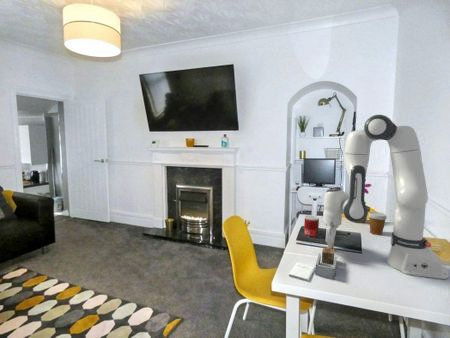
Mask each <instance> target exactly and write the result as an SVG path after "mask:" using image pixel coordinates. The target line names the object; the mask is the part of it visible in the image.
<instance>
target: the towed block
mask: <svg viewBox="0 0 450 338" xmlns="http://www.w3.org/2000/svg"><path fill="white" fill-rule="evenodd" d="M326 244H327V246H326V247H323V248H322V252H321V263H324V264H331V265H333V264H334V258H335V251H336V250H335V248H334V246H335V245H334V244H335V242H334V243H333V244H332V248H328V243H326Z"/></svg>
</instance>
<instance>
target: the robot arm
mask: <svg viewBox="0 0 450 338" xmlns="http://www.w3.org/2000/svg"><path fill="white" fill-rule="evenodd" d="M381 140H382V141H383V140H384V141H386V143H387V144H388V148H389V154H390V161H391V167H392V173H393V174H392V175H393V181H394V193H395V199H396V203H395V210H394V220H393V231H392V233H391V236H390V245H391V246H390V250H389V253H388V256H387V258H386V263H387V264H388V265H389V266H391V267H392V268H394V269H396V270H398V271H401V272H402V273H404V274H405V275H410V276H415V277H416V276H417V277H424V278H430V279H431V278H432V279H440V280H448V279H449V277H448V276H449V271H448V270H447V268H445V267H444V266H443V263H442V260H441V258H440V256H439V255H438V254H437V253H436V252H434V251H433V250H431V247H432V244H431V242H429V241H428V239H426V238H425V237H424V230H425V221H426V220H425V218H426V207H427V206H426V204H427V203H428V200H429V195H428V188H427V183H426V176H425V172H424V166H423V165H424V164H423V160H422V158H423V157H422V153H421V148H420V147H421V145H420V142H419V138H418V135H417V133H416V130H415V129H414V128H413V127H412V126H410V125H396V123H394V122H393V121H392V120H391V118H390V117H388V116H387V115H384V114H375V115H371V116H370V117H369V118H368V119H367V120H366V121H365V123H364V125H363V129H360V130H357V129H356V130H353V131H351V132H349V133H348V135H347V138H346V141H345V145H344V151H343V164H344V168H345V169H346V170H345V171H346V172H347V175H348V179H349V190H348V191H349V193H348V192H346V191H344V190H342V189H341V188H340V187H339V188H336V187H333V188H329V189H327V190H326V191H325V193H324V197H323V208H324V209H323V212H322V213H323V214H322V223H324V225H325V227H326V230H325V231H326V232H325V243H326V244H328V248H332V244H333V243H334V244H335V238H336V232H337V228H339V226H341V225H342V221H343V219H342V218H343V215H344V217H345V219H347V220H348V221H349V222H351V223H354V222H361V221H363V220H364V219H365V218H366V217H367V218H368V216H369V212H368V209H367V207H366V206H367V205H366V204H367V203H365V202H366V201H365V195H366V193H365V188H366V187H365V184H366V181H365V179H366V177H367V171H368V167H369V161H370V154H371V153H370V152H371V146H372V143H373V142H375V141H381ZM447 278H448V279H447Z"/></svg>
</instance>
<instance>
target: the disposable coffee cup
mask: <svg viewBox="0 0 450 338" xmlns="http://www.w3.org/2000/svg"><path fill="white" fill-rule="evenodd" d="M368 217H369V218H368V220H369V233H370V234H372V235H376V236H381V235H382V234H383V232H384V227H385V223H386V219H387V218H388V217H387V214H385V213H383V212H378V211H370V212H368Z"/></svg>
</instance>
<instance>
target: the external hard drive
mask: <svg viewBox="0 0 450 338" xmlns="http://www.w3.org/2000/svg"><path fill="white" fill-rule="evenodd" d="M315 267H316V266H314V265H310V264H306V263H302V262H296V263H295V265H294V266H293V268H292V269H291V270H290V272H289V274H288V277H290V278H293V279H298V280H300V281H303V282H310V279H311V278H312V275H313V274H314V273H315Z"/></svg>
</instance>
